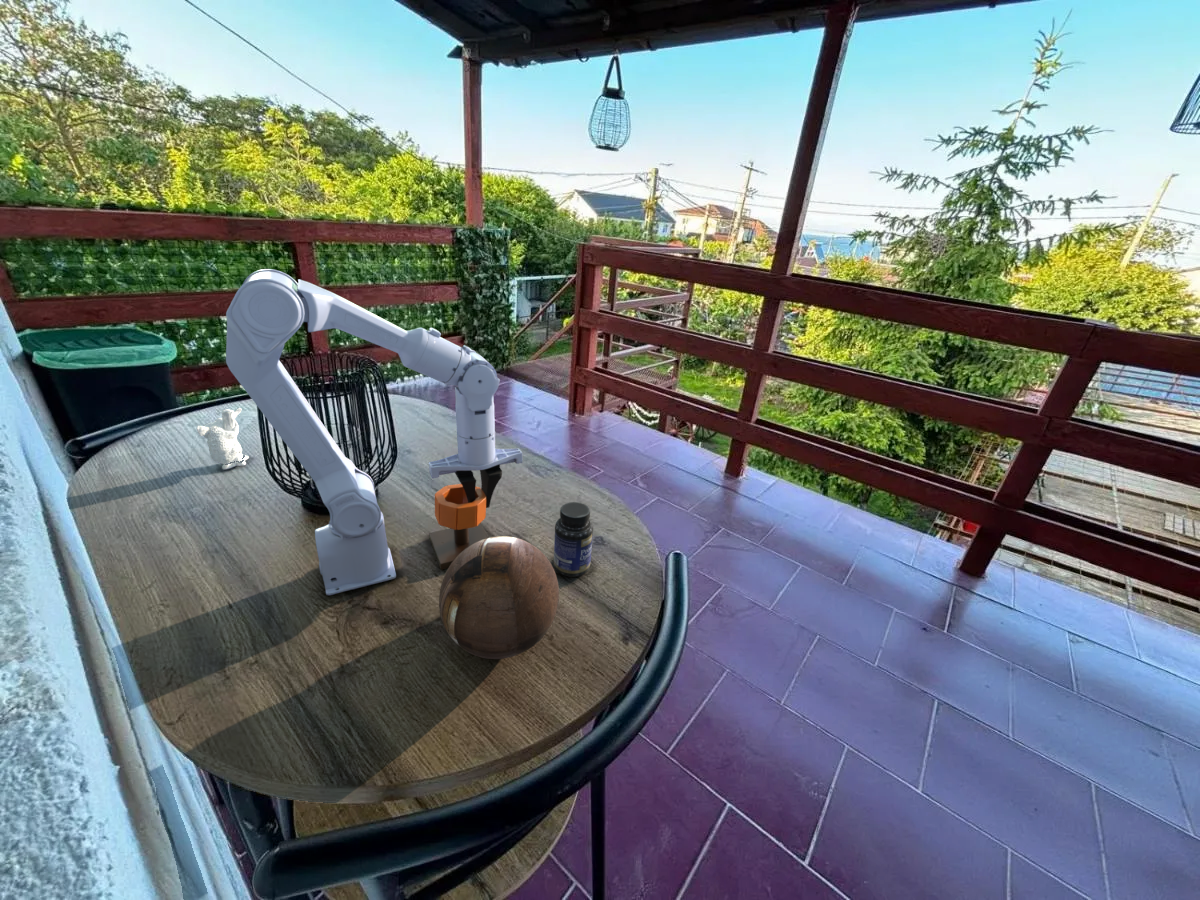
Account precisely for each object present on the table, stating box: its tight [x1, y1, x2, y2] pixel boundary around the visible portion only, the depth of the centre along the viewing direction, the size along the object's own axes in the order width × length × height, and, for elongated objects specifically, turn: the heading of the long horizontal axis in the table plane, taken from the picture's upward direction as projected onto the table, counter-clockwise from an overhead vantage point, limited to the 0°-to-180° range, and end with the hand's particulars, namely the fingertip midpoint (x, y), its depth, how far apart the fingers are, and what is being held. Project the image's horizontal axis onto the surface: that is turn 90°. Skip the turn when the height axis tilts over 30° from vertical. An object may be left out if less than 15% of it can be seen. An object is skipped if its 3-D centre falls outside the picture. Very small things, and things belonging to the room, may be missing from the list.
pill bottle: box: [553, 501, 594, 578], centre depth 77 cm, size 6×6×11 cm
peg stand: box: [428, 522, 490, 571], centre depth 80 cm, size 9×9×7 cm
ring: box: [434, 483, 487, 530], centre depth 78 cm, size 8×8×4 cm
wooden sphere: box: [438, 535, 560, 660], centre depth 62 cm, size 15×15×15 cm
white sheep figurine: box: [196, 407, 250, 470], centre depth 98 cm, size 8×7×12 cm
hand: (479, 506), depth 80 cm, fingers closed on ring, 2 cm apart
